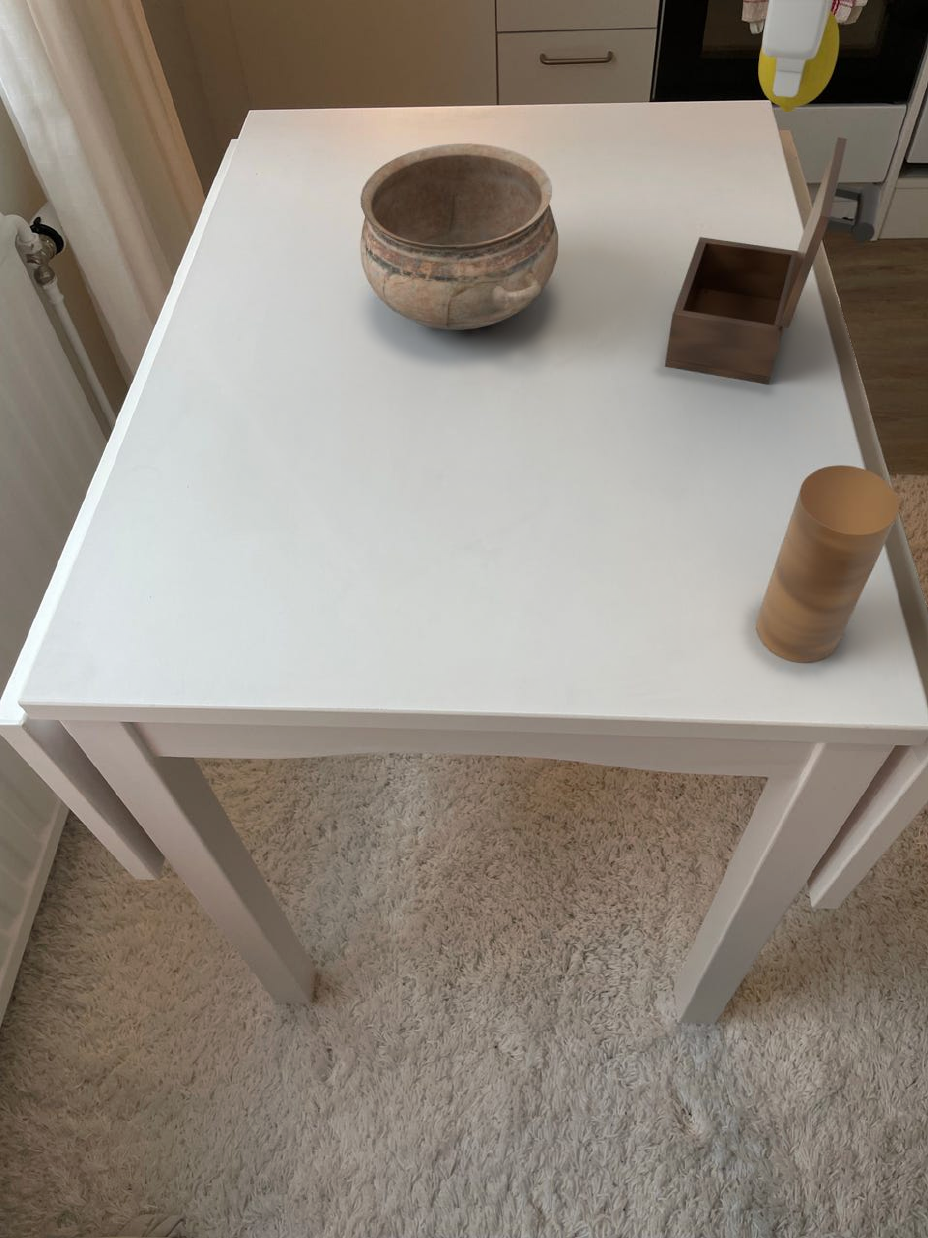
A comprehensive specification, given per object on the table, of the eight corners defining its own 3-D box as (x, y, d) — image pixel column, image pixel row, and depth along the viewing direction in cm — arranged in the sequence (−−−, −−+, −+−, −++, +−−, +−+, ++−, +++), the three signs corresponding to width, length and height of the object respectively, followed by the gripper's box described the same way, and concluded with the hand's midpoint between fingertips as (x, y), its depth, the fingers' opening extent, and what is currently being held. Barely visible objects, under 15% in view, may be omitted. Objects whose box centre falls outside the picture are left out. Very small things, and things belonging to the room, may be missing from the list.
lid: (819, 215, 74) (882, 229, 73) (838, 136, 81) (895, 147, 80) (778, 326, 82) (834, 339, 82) (798, 245, 89) (850, 257, 89)
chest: (664, 366, 90) (672, 313, 85) (691, 288, 97) (699, 236, 92) (768, 384, 87) (782, 331, 83) (787, 303, 94) (801, 250, 90)
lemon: (828, 97, 75) (856, -18, 68) (818, 133, 72) (845, 17, 65) (757, 90, 76) (777, -24, 69) (743, 124, 73) (763, 10, 67)
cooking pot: (325, 278, 101) (304, 165, 91) (478, 220, 106) (473, 108, 96) (444, 411, 87) (434, 295, 78) (612, 337, 92) (622, 220, 83)
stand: (843, 608, 72) (903, 475, 61) (834, 671, 69) (895, 543, 57) (762, 590, 73) (806, 457, 62) (750, 651, 70) (793, 522, 59)
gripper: (875, -102, 54) (817, 143, 65) (904, -205, 65) (851, 18, 76) (762, -107, 55) (724, 133, 66) (809, -207, 67) (770, 12, 78)
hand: (792, 70), depth 71 cm, fingers closed on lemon, 5 cm apart
